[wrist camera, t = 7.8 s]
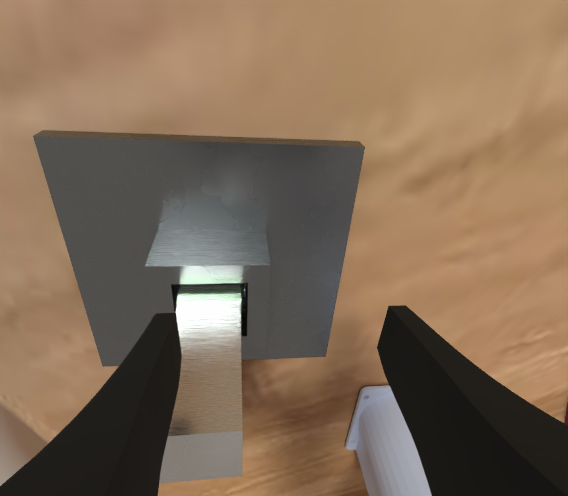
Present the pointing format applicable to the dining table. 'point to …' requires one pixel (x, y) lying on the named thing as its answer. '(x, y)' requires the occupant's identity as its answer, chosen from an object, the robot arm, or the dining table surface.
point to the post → (207, 387)
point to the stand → (204, 230)
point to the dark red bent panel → (567, 418)
